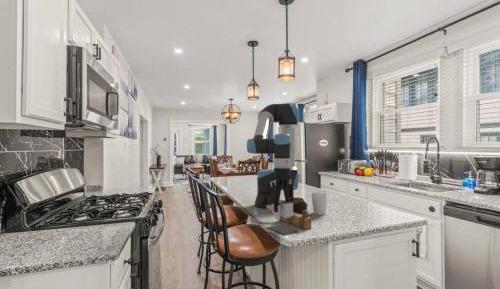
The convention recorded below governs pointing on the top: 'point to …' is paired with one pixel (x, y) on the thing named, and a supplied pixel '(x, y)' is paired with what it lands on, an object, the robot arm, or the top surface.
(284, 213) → the grey block
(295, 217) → the plane body
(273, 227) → the mat
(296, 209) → the rock
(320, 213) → the cup
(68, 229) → the top surface
